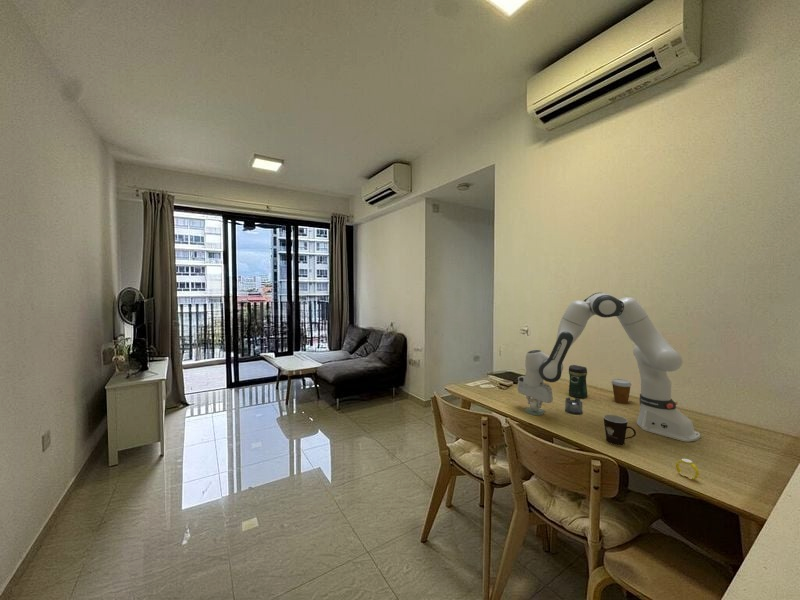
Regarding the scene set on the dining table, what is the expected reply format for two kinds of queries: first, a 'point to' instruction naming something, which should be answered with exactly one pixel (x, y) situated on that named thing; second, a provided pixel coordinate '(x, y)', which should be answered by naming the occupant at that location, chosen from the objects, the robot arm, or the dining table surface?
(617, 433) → the coffee mug
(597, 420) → the dining table surface
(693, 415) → the dining table surface
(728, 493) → the dining table surface
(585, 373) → the coffee jar
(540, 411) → the coaster
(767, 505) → the dining table surface
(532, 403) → the cap
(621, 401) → the disposable coffee cup
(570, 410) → the blue-gray holder
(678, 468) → the watch
